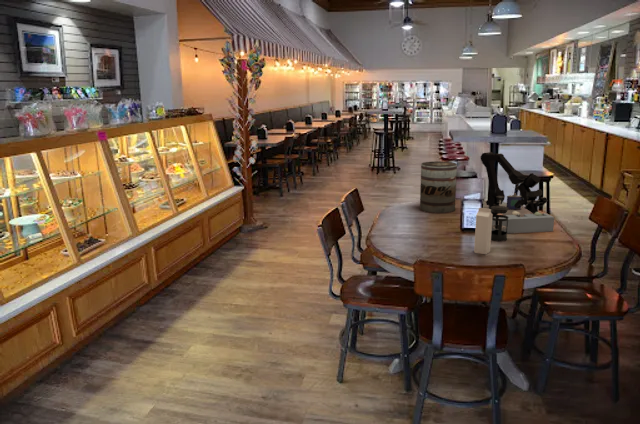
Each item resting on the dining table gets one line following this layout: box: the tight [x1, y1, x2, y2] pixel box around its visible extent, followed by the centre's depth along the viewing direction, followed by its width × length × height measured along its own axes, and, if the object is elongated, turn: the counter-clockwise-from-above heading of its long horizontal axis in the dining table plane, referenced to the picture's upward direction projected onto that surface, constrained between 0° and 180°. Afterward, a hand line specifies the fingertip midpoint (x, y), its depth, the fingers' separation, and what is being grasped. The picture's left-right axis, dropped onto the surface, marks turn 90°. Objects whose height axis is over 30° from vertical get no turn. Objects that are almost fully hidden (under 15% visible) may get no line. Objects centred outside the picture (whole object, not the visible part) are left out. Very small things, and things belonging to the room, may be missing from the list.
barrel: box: [419, 160, 458, 215], centre depth 335 cm, size 22×22×30 cm
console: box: [492, 212, 555, 235], centre depth 287 cm, size 9×32×8 cm, turn 96°
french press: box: [491, 196, 509, 242], centre depth 271 cm, size 12×9×23 cm
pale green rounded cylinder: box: [533, 211, 543, 216], centre depth 289 cm, size 5×4×4 cm
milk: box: [473, 207, 493, 255], centre depth 250 cm, size 6×6×22 cm
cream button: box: [511, 210, 521, 217], centre depth 292 cm, size 5×4×4 cm
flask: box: [506, 192, 523, 211], centre depth 333 cm, size 9×3×11 cm, turn 87°
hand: (537, 215), depth 292 cm, fingers closed
